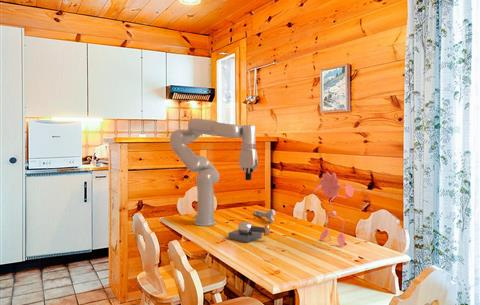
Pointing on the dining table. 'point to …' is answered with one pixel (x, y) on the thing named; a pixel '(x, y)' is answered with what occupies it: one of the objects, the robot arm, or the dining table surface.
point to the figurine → (331, 187)
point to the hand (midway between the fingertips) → (248, 180)
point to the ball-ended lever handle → (252, 228)
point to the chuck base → (244, 236)
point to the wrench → (266, 214)
